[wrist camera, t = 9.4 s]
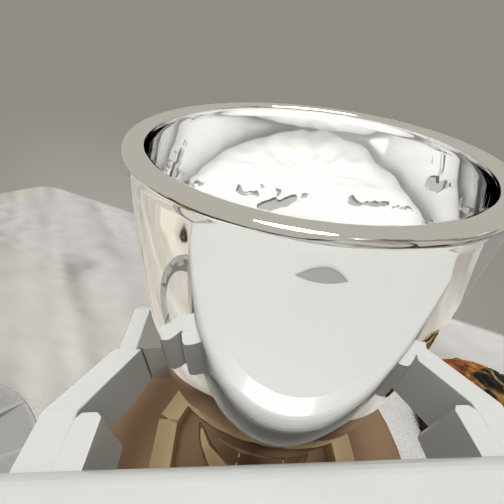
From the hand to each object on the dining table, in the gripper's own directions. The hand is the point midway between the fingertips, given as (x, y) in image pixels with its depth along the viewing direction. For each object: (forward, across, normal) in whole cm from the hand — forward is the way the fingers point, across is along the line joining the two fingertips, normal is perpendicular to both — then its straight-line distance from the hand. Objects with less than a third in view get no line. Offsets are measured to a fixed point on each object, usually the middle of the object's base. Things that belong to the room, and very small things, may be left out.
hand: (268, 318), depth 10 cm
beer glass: (-1, 0, +8) cm, 9 cm away
